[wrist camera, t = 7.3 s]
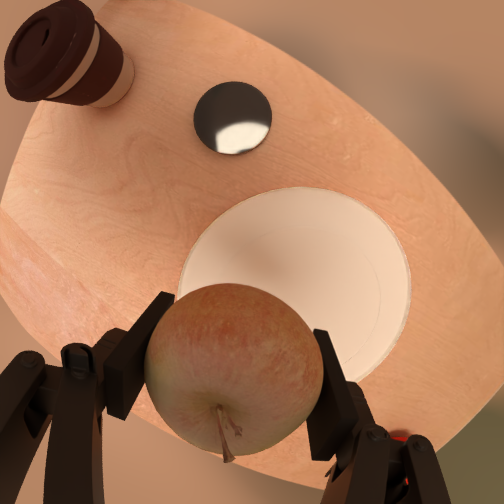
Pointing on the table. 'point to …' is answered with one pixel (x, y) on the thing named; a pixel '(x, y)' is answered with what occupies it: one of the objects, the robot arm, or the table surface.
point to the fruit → (233, 369)
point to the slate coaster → (232, 118)
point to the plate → (313, 267)
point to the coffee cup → (66, 59)
